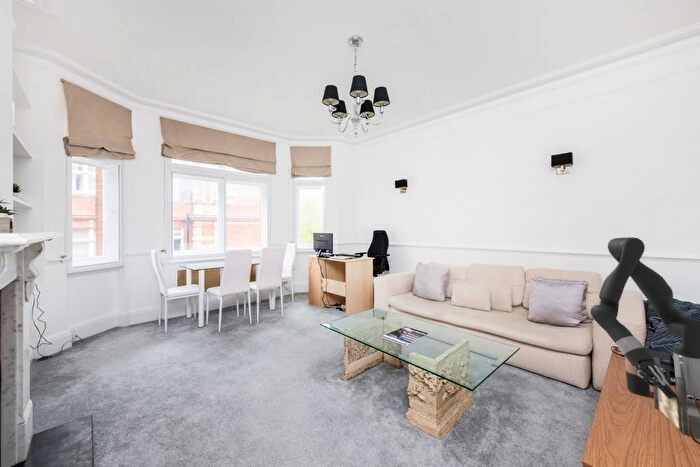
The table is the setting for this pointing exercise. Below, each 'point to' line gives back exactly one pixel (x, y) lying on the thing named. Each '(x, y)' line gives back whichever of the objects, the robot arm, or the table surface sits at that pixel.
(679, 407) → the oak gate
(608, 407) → the table surface
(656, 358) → the gate post
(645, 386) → the travel mug
